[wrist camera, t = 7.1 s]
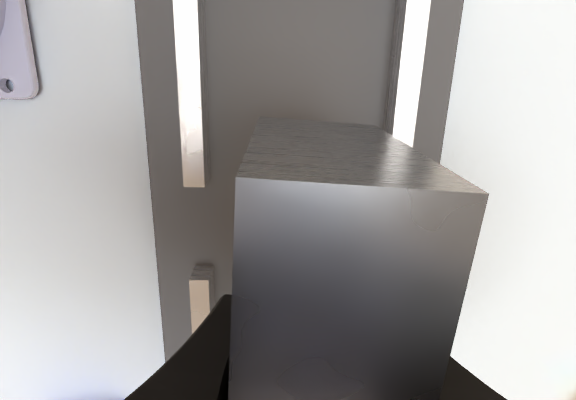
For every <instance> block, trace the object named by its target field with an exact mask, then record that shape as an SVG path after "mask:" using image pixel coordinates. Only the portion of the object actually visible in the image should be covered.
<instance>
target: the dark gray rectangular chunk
mask: <svg viewBox="0 0 576 400" xmlns="http://www.w3.org/2000/svg"><path fill="white" fill-rule="evenodd" d="M488 196H489V194H488V193H487V192H485V191H483V190H482V189H480V188H478V187H477V186H475V185H473V184H472V183H470V182H468V181H467V180H465V179H463V178H462V177H460V176H459V175H457V174H455V173H454V172H452V171H450V170H449V169H447V168H445V167H444V166H442V165H440V164H439V163H437V162H435V161H434V160H432V159H430V158H429V157H427V156H425V155H424V154H422V153H420V152H419V151H417V150H415V149H414V148H412V147H410V146H409V145H407V144H405V143H404V142H402V141H400V140H399V139H397V138H395V137H394V136H392V135H390V134H389V133H387V132H385V131H384V130H382V129H381V128H379V127H377V126H376V125H369V124H355V123H341V122H327V121H313V120H299V119H286V118H272V117H259V119H258V122H257V124H256V127H255V129H254V132H253V134H252V137H251V139H250V142H249V145H248V147H247V150H246V152H245V155H244V157H243V160H242V162H241V165H240V168H239V170H238V173H237V175H236V183H235V212H234V241H233V270H232V299H231V328H230V357H229V387H228V400H439V399H440V395H441V391H442V386H443V382H444V378H445V374H446V370H447V366H448V362H449V357H450V353H451V349H452V345H453V341H454V337H455V333H456V328H457V324H458V320H459V316H460V312H461V308H462V304H463V299H464V295H465V291H466V287H467V283H468V279H469V275H470V270H471V266H472V262H473V258H474V254H475V250H476V245H477V241H478V237H479V233H480V229H481V225H482V221H483V216H484V212H485V208H486V204H487V200H488Z"/></svg>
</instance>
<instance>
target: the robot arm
mask: <svg viewBox="0 0 576 400" xmlns="http://www.w3.org/2000/svg"><path fill="white" fill-rule="evenodd" d="M8 79H9V80H10V81H11V82H12V83H13V85H14V88H13V91H12V92H11V91H10V90H9V89H7V86H6V81H7V80H8ZM38 91H39V85H38V79H37V73H36V66H35V60H34V54H33V48H32V42H31V36H30V30H29V23H28V17H27V11H26V5H25V0H0V99H30V98H33V97H35V96H36V95H37V93H38ZM231 299H232V295H230V294H224V295H223V296H222V297H221V298H220V299H219V300H218V302H217V303H216V305H215V306H214V308H213V309H212V310H211V312H210V313H209V314H208V316H207V317H206V318H205V319H204V321H203V322H202V323H201V324H200V326H199V327H198V328H197V329H196V330H195V331H194V333H193V334H192V335H191V336H190V337H189V338H188V340H187V341H186V342H185V343H184V344H183V345H182V346H181V347H180V348H179V349H178V350H177V351H176V352H175V353H174V354H173V355H172V356H171V357H170V359H169V360H168V361H167V362H166V363H165V364H164V365H163V366H162V367H161V368H160V369H158V370H157V371H156V372H155V373H154V374H153V375H152V376H151V377H150V378H149V379H148V380H147V381H145V382H144V383H143V384H142V385H141V386H140V387H138V388H137V389H136V390H135V391H134V392H133V393H131V394H130V395H129V396H128V397H127V398H125V399H124V400H228V387H229V357H230V328H231ZM439 400H507V399H505V398H504V397H503V396H501V395H500V394H498V393H497V392H495V391H494V390H493V389H491V388H490V387H489V386H487V385H486V384H484V383H483V382H482V381H481V380H479V379H478V378H477V377H475V376H474V375H473V374H472V373H470V372H469V371H468V370H467V369H465V368H464V367H463V366H461V365H460V364H459V363H458V362H457V361H455V360H454V359H453V358H452V357H451V356H450V357H449V362H448V366H447V370H446V374H445V378H444V382H443V386H442V391H441V395H440V399H439Z"/></svg>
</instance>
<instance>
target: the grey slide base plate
mask: <svg viewBox="0 0 576 400" xmlns="http://www.w3.org/2000/svg"><path fill="white" fill-rule="evenodd" d="M463 3H464V0H431V4H430V12H429V20H428V28H427V36H426V44H425V52H424V60H423V68H422V76H421V84H420V92H419V100H418V108H417V116H416V124H415V132H414V140H413V148H414V149H415V150H417V151H419V152H420V153H422V154H424V155H425V156H427V157H429V158H430V159H432V160H434V161H435V162H437V163H439V164H440V158H441V152H442V145H443V138H444V131H445V125H446V118H447V111H448V104H449V98H450V91H451V84H452V77H453V71H454V64H455V57H456V50H457V44H458V37H459V30H460V23H461V17H462V10H463ZM395 8H396V0H204V9H205V37H206V65H207V93H208V121H209V149H210V177H211V178H210V179H209V181H208V183H207V184H206V186H205V187H184V186H183V169H182V152H181V135H180V118H179V100H178V83H177V66H176V49H175V31H174V14H173V0H135V10H136V22H137V34H138V46H139V57H140V69H141V81H142V93H143V104H144V116H145V128H146V140H147V152H148V163H149V175H150V187H151V199H152V210H153V222H154V234H155V246H156V257H157V269H158V281H159V293H160V304H161V316H162V328H163V340H164V352H165V363H166V362H167V361H168V360H169V359H170V357H171V356H172V355H173V354H174V353H175V352H176V351H177V350H178V349H179V348H180V347H181V346H182V345H183V344H184V343H185V342H186V341H187V340H188V338H189V337H190V336H191V335H192V324H191V307H190V290H189V279H190V276H191V274H192V272H193V269H194V267H195V264H214V289H215V305H216V303H217V302H218V300H219V299H220V298H221V297H222V296H223V295H224V294H230V295H232V270H233V241H234V212H235V183H236V175H237V173H238V170H239V168H240V165H241V162H242V160H243V157H244V155H245V152H246V150H247V147H248V145H249V142H250V139H251V137H252V134H253V132H254V129H255V127H256V124H257V122H258V119H259V117H272V118H286V119H299V120H313V121H327V122H341V123H355V124H369V125H376V126H377V127H379V128H381V129H382V130H383V127H384V117H385V107H386V97H387V88H388V78H389V68H390V58H391V48H392V38H393V28H394V18H395Z"/></svg>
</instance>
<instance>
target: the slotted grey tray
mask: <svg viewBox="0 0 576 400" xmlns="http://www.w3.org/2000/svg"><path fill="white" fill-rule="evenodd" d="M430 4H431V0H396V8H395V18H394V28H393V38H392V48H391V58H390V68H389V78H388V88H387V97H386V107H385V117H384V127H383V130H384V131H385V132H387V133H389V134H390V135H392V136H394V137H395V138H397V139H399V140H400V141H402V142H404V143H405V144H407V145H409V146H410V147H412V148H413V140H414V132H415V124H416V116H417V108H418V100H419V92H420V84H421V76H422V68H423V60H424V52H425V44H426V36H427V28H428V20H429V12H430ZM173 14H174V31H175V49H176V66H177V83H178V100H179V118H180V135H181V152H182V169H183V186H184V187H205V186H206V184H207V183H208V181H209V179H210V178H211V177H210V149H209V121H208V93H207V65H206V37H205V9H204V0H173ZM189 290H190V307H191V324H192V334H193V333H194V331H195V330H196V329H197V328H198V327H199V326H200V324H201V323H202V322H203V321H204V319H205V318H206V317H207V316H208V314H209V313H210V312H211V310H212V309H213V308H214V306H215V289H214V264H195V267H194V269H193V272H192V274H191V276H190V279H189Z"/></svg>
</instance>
